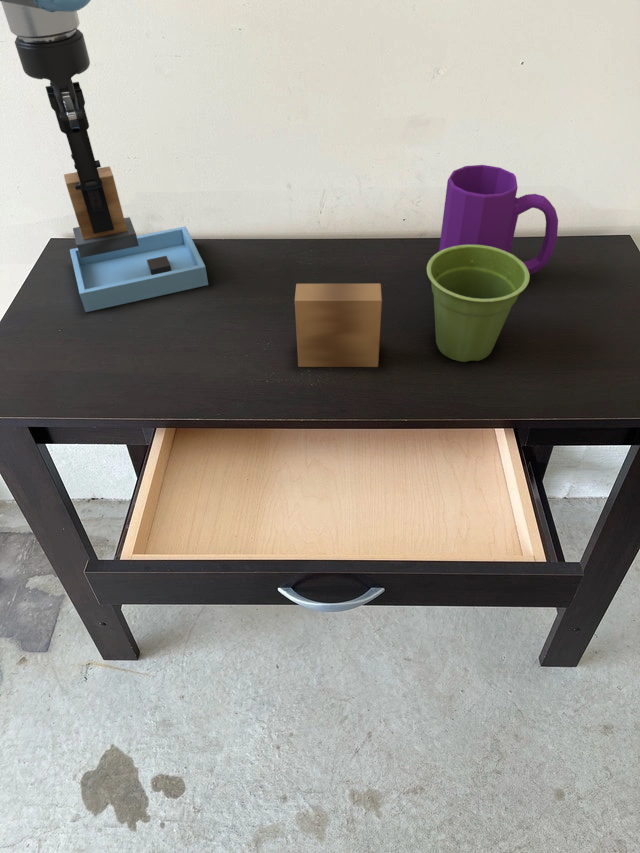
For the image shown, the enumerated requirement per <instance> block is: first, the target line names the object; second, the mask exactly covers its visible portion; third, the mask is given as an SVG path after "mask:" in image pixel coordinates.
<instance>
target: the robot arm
mask: <svg viewBox="0 0 640 853" xmlns="http://www.w3.org/2000/svg"><path fill="white" fill-rule="evenodd" d="M91 1H92V0H0V3H1V6H2V9H3V12H4V15H5V19H6V21H7V24H8V29H9V30H10V32H11V34H13V35H15V36H16V37H15V40H14V45H15V48H16V51H17V54H18V57H19V60H20V64H21V67H22V70H23V72H24V73H25V74H26V75H27V76H28V77H30V78H32V79H36V80H48V81H49V85H47V86H45V91H46V94H47V98H48V101H49V105H50V108H51V110H53V111H54V113H55V117H56V121H57V123H58V127H59V130H60V132H61V133H63V134H65V136H66V139H67V142H68V145H69V149H70V153H71V154H70V157H71V159H72V160H73V162H74V164H73V167H74V170H76V172H77V173H78V177H79V180H80V181H79V183H77V184H75V188H76V190H80V189H81V191H82V195H83V198H84V201H85V205H86V208H87V211H88V215H89V218H90V222H91V225H92V228H93V232H94V234H95V233H100V232H105V231H110V230H114V227H113V224H112V220H111V216H110V213H109V209H108V205H107V201H106V198H105V194H104V190H103V187H102V180H101V179H100V177H99V173H98V170H97V168H102V165H101V163H100V160H99V159H97V160H96V158H95V155H94V152H93V148H92V144H91V140H90V136H89V133H88V129H89V128H90V124H89V120H88V116H87V112H86V109H85V104H86V101H85V100H86V99H85V97H84V93H83V89H82V88H81V85H80V81H73V80H72V78H73V77H74V76H76V75H80V74H82V73H84V72H86V71H87V70H88V69H89V68H90V66H91V61H90V56H89V53H88V49H87V44H86V41H85V37H84V36H85V35H84V33H83V32H81V30H80V29H79V27H80V24H81V23H80V18H79V13H78V11H80V10H82V9H83V8H85V7H87V6H88V5H89V4H90V2H91Z"/></svg>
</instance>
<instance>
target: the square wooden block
mask: <svg viewBox="0 0 640 853" xmlns="http://www.w3.org/2000/svg"><path fill="white" fill-rule="evenodd" d="M382 305H383V295H382V284H381V283H379V282H378V283H377V282H376V283H375V282H374V283H373V282H372V283H367V282H366V283H296V284H295V294H294V312H295V330H296V348H297V365H298V367H299V368H378V367H379V360H380V358H379V357H380V341H381V340H380V339H381V326H382V325H381V324H382V323H381V322H382Z"/></svg>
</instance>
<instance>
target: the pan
mask: <svg viewBox="0 0 640 853" xmlns="http://www.w3.org/2000/svg"><path fill="white" fill-rule="evenodd" d="M136 236H137V240H138V244H139V246H136V247H132V248H127V249H122V250H117V251H112V252H107V253H103V254H98V255H93V256H88V257H83V258H81V257H80V254H79V251H78V248H77V247H75V248H70V249H69V253H70V257H71V261H72V262H71V263H72V267H73V271H74V274H75V279H76V280H75V281H76V284H77V288H78V293H79V296H80V299H81V303H82V305H83V308H84V312H85V313H89V312H94V311H98V310H103V309H106V308H107V309H108V308H112V307H116V306H121V305H124V304H129V303H134V302H139V301H143V300H147V299H151V298H156V297H162V296H166V295H170V294H174V293H179V292H183V291H188V290H192V289H197V288H201V287H205V286H209V281H208V279H209V278H208V275H207V267H206V265H205V263H204V261H203V258H202V256H201V254H200V253H199V250H198V248H197V246H196V245H195V242H194V240H193V238H192V235H191V234H190V232H189V230H188V228H187V226H186V225H185V226H181V227H180V226H179V227H176V228H170V229H165V230H160V231H155V232H149V233H145V234H140V235H136ZM162 256H167V258H168V261H169V263H170V265H171V270H172V271H169V272H164V273H160V274H155V275H151V272H150V269H149V267H148V263H147V260H148V259H153V258H158V257H162Z"/></svg>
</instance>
